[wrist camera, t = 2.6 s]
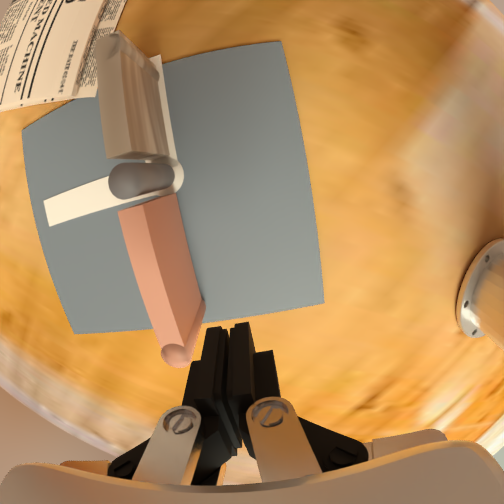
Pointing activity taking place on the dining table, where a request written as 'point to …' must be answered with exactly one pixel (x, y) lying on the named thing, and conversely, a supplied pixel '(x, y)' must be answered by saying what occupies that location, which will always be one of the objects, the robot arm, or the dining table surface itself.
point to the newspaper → (52, 49)
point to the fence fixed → (129, 100)
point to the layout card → (185, 194)
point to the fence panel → (160, 258)
